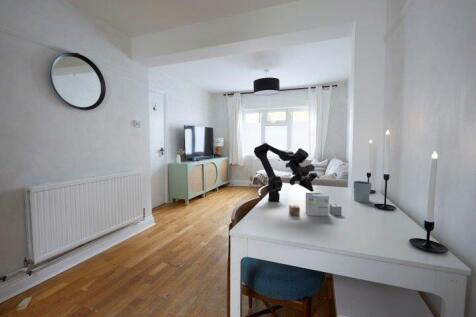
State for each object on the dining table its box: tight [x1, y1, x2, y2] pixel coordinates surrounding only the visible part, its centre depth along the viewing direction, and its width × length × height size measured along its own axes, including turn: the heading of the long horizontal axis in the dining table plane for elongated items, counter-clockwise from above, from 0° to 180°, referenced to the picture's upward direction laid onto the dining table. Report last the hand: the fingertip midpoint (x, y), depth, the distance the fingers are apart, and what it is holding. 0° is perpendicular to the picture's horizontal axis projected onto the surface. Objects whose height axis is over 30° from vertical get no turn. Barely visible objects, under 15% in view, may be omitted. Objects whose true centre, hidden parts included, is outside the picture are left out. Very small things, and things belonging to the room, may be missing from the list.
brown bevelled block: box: [288, 204, 301, 217], centre depth 113 cm, size 4×4×5 cm
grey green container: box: [353, 180, 373, 203], centre depth 139 cm, size 10×10×12 cm
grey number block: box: [329, 203, 342, 216], centre depth 114 cm, size 4×4×5 cm
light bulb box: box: [305, 192, 330, 217], centre depth 114 cm, size 11×7×11 cm, turn 84°
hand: (312, 191), depth 115 cm, fingers closed
